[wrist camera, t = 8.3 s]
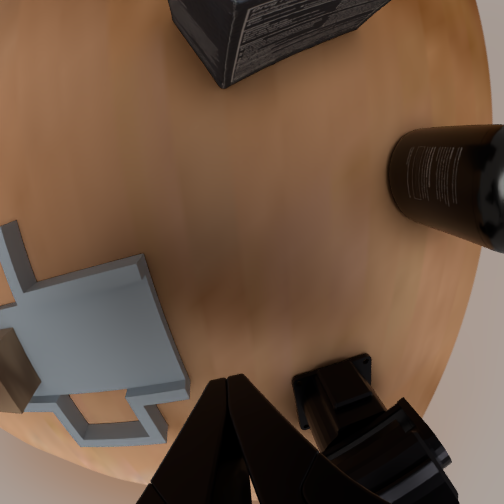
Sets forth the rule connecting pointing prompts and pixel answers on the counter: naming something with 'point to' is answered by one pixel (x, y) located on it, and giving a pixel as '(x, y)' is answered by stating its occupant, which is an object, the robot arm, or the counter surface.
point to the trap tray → (94, 342)
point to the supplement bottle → (453, 181)
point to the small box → (262, 30)
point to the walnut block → (15, 374)
